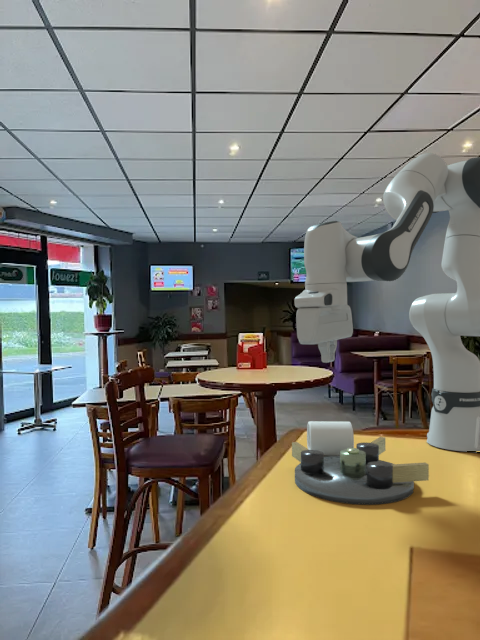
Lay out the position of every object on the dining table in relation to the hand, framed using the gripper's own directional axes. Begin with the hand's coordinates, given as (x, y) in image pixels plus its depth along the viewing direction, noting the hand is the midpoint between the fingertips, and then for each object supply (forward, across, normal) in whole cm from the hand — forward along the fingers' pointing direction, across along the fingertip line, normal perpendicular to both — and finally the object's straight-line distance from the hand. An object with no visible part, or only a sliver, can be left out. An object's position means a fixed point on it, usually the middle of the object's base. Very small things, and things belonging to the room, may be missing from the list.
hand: (328, 361), depth 107 cm
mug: (+24, -11, -6) cm, 27 cm away
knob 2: (+21, -6, +7) cm, 23 cm away
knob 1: (+21, +7, -3) cm, 22 cm away
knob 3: (+21, +7, +17) cm, 28 cm away
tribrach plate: (+23, +6, +7) cm, 25 cm away
